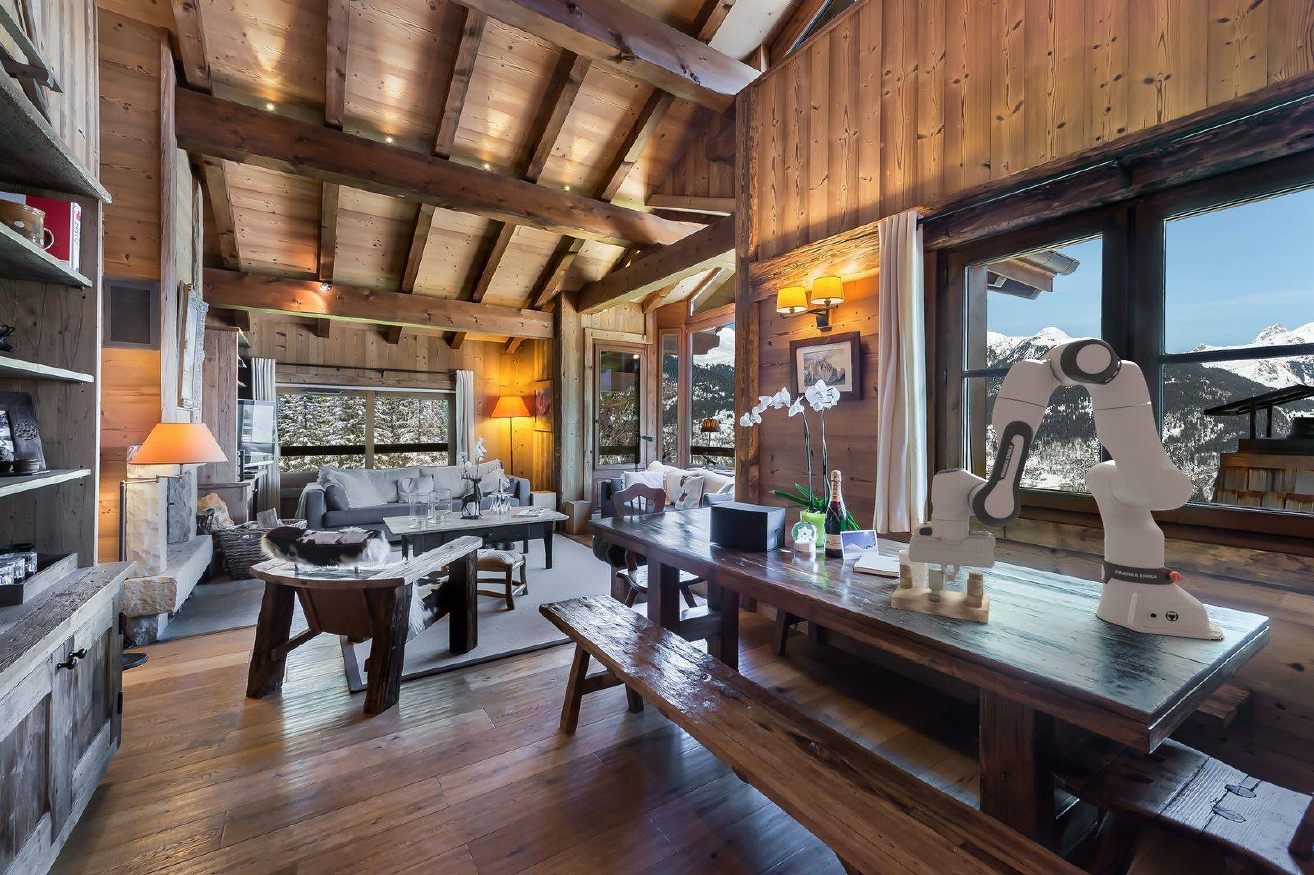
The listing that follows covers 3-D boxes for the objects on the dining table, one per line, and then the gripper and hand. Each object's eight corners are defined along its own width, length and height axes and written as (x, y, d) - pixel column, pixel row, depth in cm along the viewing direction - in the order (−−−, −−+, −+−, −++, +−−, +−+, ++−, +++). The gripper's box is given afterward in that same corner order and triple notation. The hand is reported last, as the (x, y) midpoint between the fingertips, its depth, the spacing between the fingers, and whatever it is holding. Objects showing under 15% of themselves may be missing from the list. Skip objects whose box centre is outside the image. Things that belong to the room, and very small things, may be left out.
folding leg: (941, 601, 141) (941, 578, 141) (926, 599, 143) (926, 576, 143) (943, 591, 150) (943, 569, 150) (929, 589, 152) (929, 567, 152)
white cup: (921, 582, 170) (921, 549, 170) (931, 589, 163) (932, 555, 162) (895, 581, 171) (895, 549, 171) (903, 589, 163) (904, 555, 163)
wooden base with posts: (989, 607, 146) (989, 572, 146) (987, 623, 135) (988, 585, 135) (899, 594, 158) (899, 562, 158) (891, 607, 147) (891, 572, 146)
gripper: (993, 530, 146) (993, 582, 146) (908, 524, 154) (908, 574, 154) (997, 534, 140) (997, 588, 140) (908, 528, 148) (908, 580, 149)
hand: (949, 581), depth 147 cm, fingers closed
